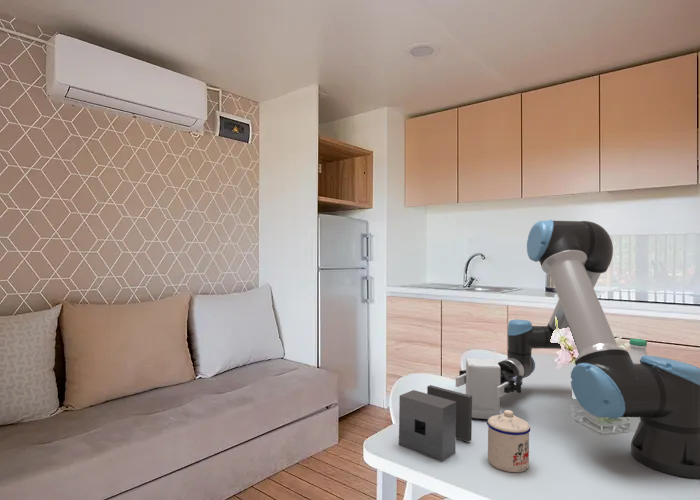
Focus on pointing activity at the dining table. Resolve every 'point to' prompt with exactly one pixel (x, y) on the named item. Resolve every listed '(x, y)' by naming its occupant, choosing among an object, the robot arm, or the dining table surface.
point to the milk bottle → (637, 350)
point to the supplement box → (483, 387)
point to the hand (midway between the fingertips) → (476, 387)
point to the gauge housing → (427, 424)
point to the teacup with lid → (508, 442)
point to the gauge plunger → (457, 410)
